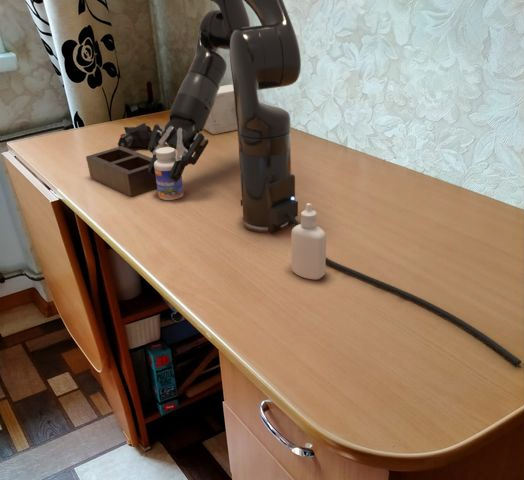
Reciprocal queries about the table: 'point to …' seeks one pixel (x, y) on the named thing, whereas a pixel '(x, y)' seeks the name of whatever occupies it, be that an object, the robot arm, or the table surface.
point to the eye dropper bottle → (308, 246)
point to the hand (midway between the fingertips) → (162, 176)
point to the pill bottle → (167, 174)
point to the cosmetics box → (222, 112)
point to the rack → (122, 170)
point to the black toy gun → (136, 136)
